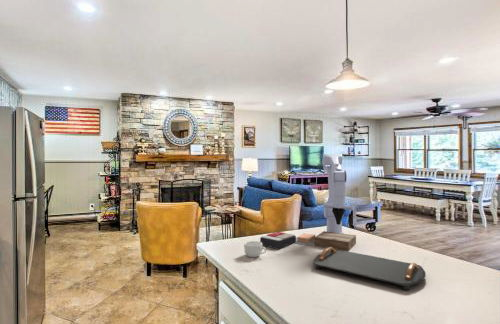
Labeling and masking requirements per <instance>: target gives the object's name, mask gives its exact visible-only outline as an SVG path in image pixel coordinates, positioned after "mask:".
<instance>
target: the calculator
mask: <svg viewBox="0 0 500 324" xmlns="http://www.w3.org/2000/svg"><path fill="white" fill-rule="evenodd" d="M296 238H297V236H296V235H295V234H292V233H287V232H282V231H276V232H272V233H268V234H266V235H263V236H261V237H260V239H259V242H261V243H262V247H268V248H272V249H277V250H280V249H282V248H284V247H285V246H289V245H291V244H295V243H294V242H296Z"/></svg>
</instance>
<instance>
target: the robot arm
mask: <svg viewBox="0 0 500 324" xmlns="http://www.w3.org/2000/svg"><path fill="white" fill-rule="evenodd" d="M322 164H323V165H322V167H323V171H326V174H327V181H328V182H327V183H328V184H327V185H328V200H327V201H326V202H324V203H323V217H324V218H325V219H326V232H334V233H341V234H345V233H344V232H343V221H342V219H343V218H344V215H345V212H346V211H355V209H356V208H355V206H354V205H350V204H349V205H348V204H346V183H347V179H348V177H347V174H348V173H347V171H346V170H344V168H343V166H342V164H343V155H342V154H341V153H340V154H339V153H335V154H334V153H332V154H330V153H329V154H328V153H327V154H325V153H324V154H323V156H322Z"/></svg>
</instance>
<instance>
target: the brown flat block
mask: <svg viewBox="0 0 500 324" xmlns="http://www.w3.org/2000/svg"><path fill="white" fill-rule="evenodd" d="M356 244H357V234H356V235H355V234H348V233H344V234H341V233H334V232H327V230H326V231H321V232H320V233H319V234H318V235H315V237H314V245H313V246H315V247H321V248H325V249H326V248H328V247H332V248H334V250H343V251H348V252H350V250H351V249H352V248H353V247H354V246H355V245H356Z"/></svg>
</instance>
